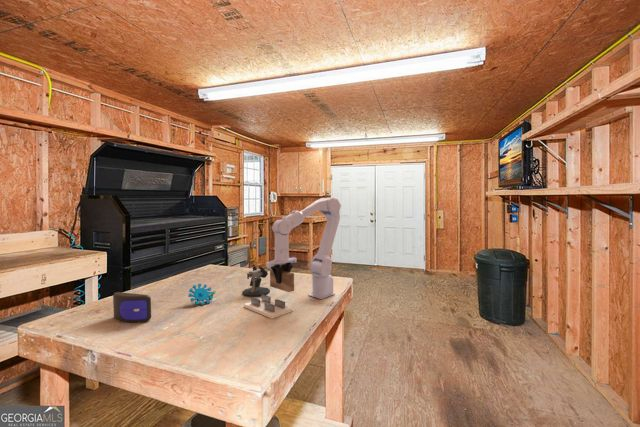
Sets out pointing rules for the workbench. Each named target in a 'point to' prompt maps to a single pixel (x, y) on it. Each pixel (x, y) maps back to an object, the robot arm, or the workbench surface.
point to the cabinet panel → (265, 312)
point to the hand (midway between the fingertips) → (281, 282)
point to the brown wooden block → (283, 281)
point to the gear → (201, 294)
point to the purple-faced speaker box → (131, 307)
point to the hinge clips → (268, 303)
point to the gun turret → (256, 283)
